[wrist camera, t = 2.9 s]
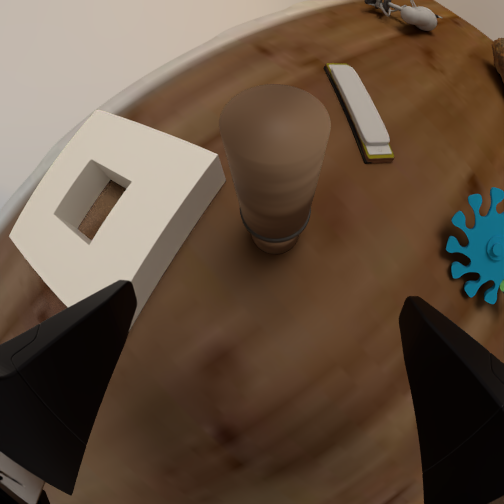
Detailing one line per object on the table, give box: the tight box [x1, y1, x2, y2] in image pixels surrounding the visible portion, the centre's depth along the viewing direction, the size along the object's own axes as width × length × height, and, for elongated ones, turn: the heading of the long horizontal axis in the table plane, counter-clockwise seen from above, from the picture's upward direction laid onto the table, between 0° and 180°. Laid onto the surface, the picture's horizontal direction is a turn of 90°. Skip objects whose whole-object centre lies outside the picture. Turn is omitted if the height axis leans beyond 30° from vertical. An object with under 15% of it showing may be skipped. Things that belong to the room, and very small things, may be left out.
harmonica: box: [324, 63, 395, 164], centre depth 25 cm, size 15×3×2 cm, turn 7°
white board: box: [9, 109, 226, 331], centre depth 22 cm, size 16×16×4 cm
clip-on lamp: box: [365, 0, 442, 31], centre depth 30 cm, size 12×6×18 cm
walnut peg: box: [219, 84, 331, 254], centre depth 17 cm, size 5×5×13 cm
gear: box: [446, 187, 504, 304], centre depth 18 cm, size 11×6×10 cm
